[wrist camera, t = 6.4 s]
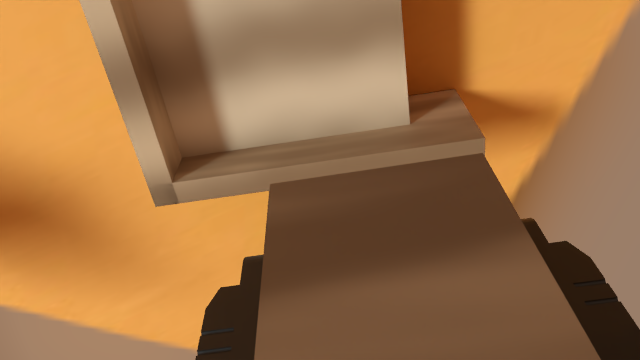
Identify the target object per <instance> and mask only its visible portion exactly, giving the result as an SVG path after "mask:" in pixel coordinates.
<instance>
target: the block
mask: <svg viewBox="0 0 640 360" xmlns="http://www.w3.org/2000/svg"><path fill="white" fill-rule="evenodd" d="M254 360H601V359H600V357H599V355H598V354H597V352H596V350H595V348H594V347H593V345H592V343H591V341H590V340H589V338H588V336H587V334H586V333H585V331H584V329H583V327H582V326H581V324H580V322H579V320H578V319H577V317H576V315H575V313H574V312H573V310H572V308H571V306H570V305H569V303H568V301H567V299H566V298H565V296H564V294H563V292H562V291H561V289H560V287H559V286H558V284H557V282H556V280H555V279H554V277H553V275H552V273H551V272H550V270H549V268H548V266H547V265H546V263H545V261H544V259H543V258H542V256H541V254H540V252H539V251H538V249H537V247H536V245H535V244H534V242H533V240H532V238H531V237H530V235H529V233H528V231H527V230H526V228H525V226H524V224H523V223H522V221H521V219H520V217H519V216H518V214H517V212H516V210H515V209H514V207H513V205H512V203H511V202H510V200H509V198H508V196H507V195H506V193H505V191H504V189H503V188H502V186H501V184H500V182H499V181H498V179H497V177H496V175H495V174H494V172H493V170H492V168H491V167H490V165H489V163H488V161H487V160H486V158H485V156H484V154H483V153H478V154H471V155H464V156H458V157H451V158H444V159H437V160H430V161H424V162H417V163H410V164H403V165H396V166H389V167H383V168H376V169H369V170H362V171H355V172H348V173H342V174H335V175H328V176H321V177H314V178H308V179H301V180H294V181H287V182H280V183H273V184H270V190H269V201H268V212H267V223H266V234H265V245H264V256H263V267H262V278H261V289H260V300H259V311H258V322H257V333H256V344H255V355H254Z"/></svg>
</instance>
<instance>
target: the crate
mask: <svg viewBox="0 0 640 360" xmlns="http://www.w3.org/2000/svg"><path fill="white" fill-rule="evenodd" d="M80 3H81V6H82V9H83V11H84V14H85V17H86V19H87V22H88V25H89V27H90V30H91V33H92V36H93V38H94V41H95V44H96V46H97V49H98V52H99V55H100V57H101V60H102V63H103V65H104V68H105V71H106V74H107V76H108V79H109V82H110V84H111V87H112V90H113V93H114V95H115V98H116V101H117V103H118V106H119V109H120V111H121V114H122V117H123V120H124V122H125V125H126V128H127V130H128V133H129V136H130V139H131V141H132V144H133V147H134V149H135V152H136V155H137V158H138V160H139V163H140V166H141V168H142V171H143V174H144V177H145V179H146V182H147V185H148V187H149V190H150V193H151V195H152V198H153V201H154V204H155V206H156V207H157V206H164V205H171V204H178V203H185V202H192V201H199V200H206V199H213V198H221V197H228V196H235V195H242V194H249V193H256V192H263V191H269V190H270V184H273V183H280V182H287V181H294V180H301V179H308V178H314V177H321V176H328V175H335V174H342V173H348V172H355V171H362V170H369V169H376V168H383V167H389V166H396V165H403V164H410V163H417V162H424V161H430V160H437V159H444V158H451V157H458V156H464V155H471V154H478V153H483V154H484V156H485V137H484V135H483V134H482V132H481V131H480V129H479V127H478V126H477V124H476V122H475V121H474V119H473V117H472V116H471V114H470V113H469V111H468V109H467V108H466V106H465V104H464V103H463V101H462V99H461V98H460V96H459V95H458V93H457V91H456V90H455V89H452V90H446V91H439V92H432V93H425V94H419V95H412V96H408V90H407V76H406V62H405V49H404V35H403V21H402V8H401V0H80Z"/></svg>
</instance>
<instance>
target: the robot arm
mask: <svg viewBox="0 0 640 360" xmlns="http://www.w3.org/2000/svg"><path fill="white" fill-rule="evenodd" d="M521 221H522V223H523V224H524V226H525V228H526V230H527V231H528V233H529V235H530V237H531V238H532V240H533V242H534V244H535V245H536V247H537V249H538V251H539V252H540V254H541V256H542V258H543V259H544V261H545V263H546V265H547V266H548V268H549V270H550V272H551V273H552V275H553V277H554V279H555V280H556V282H557V284H558V286H559V287H560V289H561V291H562V292H563V294H564V296H565V298H566V299H567V301H568V303H569V305H570V306H571V308H572V310H573V312H574V313H575V315H576V317H577V319H578V320H579V322H580V324H581V326H582V327H583V329H584V331H585V333H586V334H587V336H588V338H589V340H590V341H591V343H592V345H593V347H594V348H595V350H596V352H597V354H598V355H599V357H600V359H601V360H640V329H639V328H638V326H637V325H636V324H635V322H634V320H633V319H632V318H631V316H630V315H629V313H628V312H627V310H626V309H625V307H624V306H623V305H622V303H621V302H618V299H617V296H616V294H615V293H614V291H613V290H612V288H611V287H610V285H609V284H608V283H607V284H606V282H605V278H604V277H603V275H602V274H601V272H600V271H599V269H598V268H597V267H596V265H595V264H594V262H593V261H592V259H591V258H590V257H589V256H587V255H586V254H584V253H583V252H582V251H580V250H579V249H577V248H576V247H574V246H573V245H572V244H570V243H569V242H567V241H562V242H555V243H548V241H547V239H546V238H545V236H544V234H543V233H542V231H541V229H540V228H539V226H538V224H537V223H536V221H535V220H534V219H532V218H527V219H521ZM263 256H264V255H258V256H250V257H245V258H244V260H243V266H242V273H241V280H240V285H236V286H229V287H221V288H220V289H219V290H218V292H217V293H216V295H215V296H214V298H213V299H212V301H211V302H210V303H209V305H208V306H207V308H206V310H205V315H204V320H203V325H202V330H201V334H202V336H200V340H199V345H198V350H197V352H198V356H196V360H254V355H255V344H256V333H257V322H258V311H259V300H260V289H261V278H262V267H263Z"/></svg>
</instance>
